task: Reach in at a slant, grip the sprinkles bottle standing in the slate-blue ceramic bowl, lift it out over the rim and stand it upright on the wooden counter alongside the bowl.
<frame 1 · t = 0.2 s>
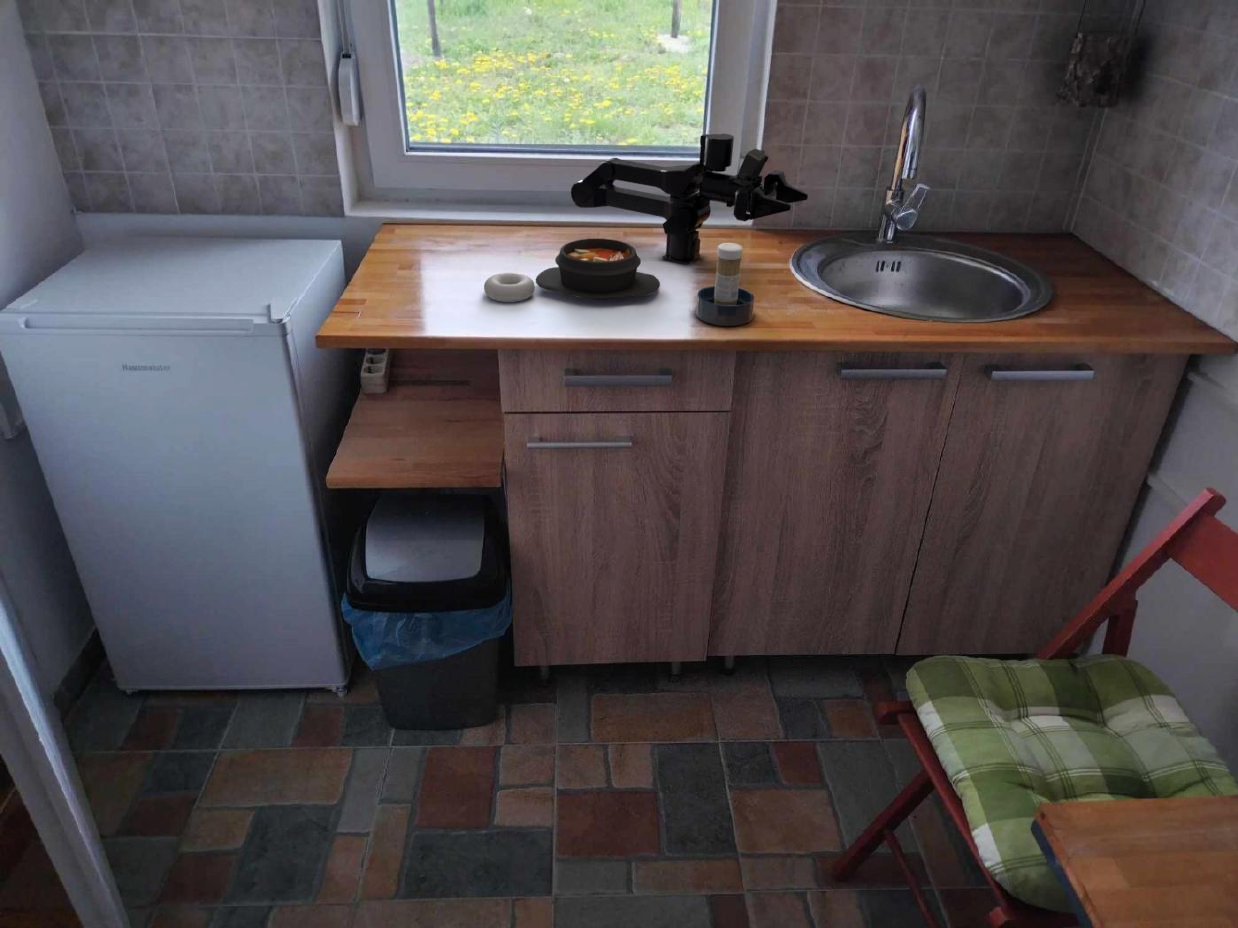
hand: (799, 202, 183), 17 cm above the counter, tool horizontal, fingers open, 9 cm apart
sprinkles bottle: (724, 315, 174), resting on bowl
donut: (509, 296, 181), on the counter
bowl: (724, 316, 175), on the counter
casserole: (597, 291, 185), on the counter
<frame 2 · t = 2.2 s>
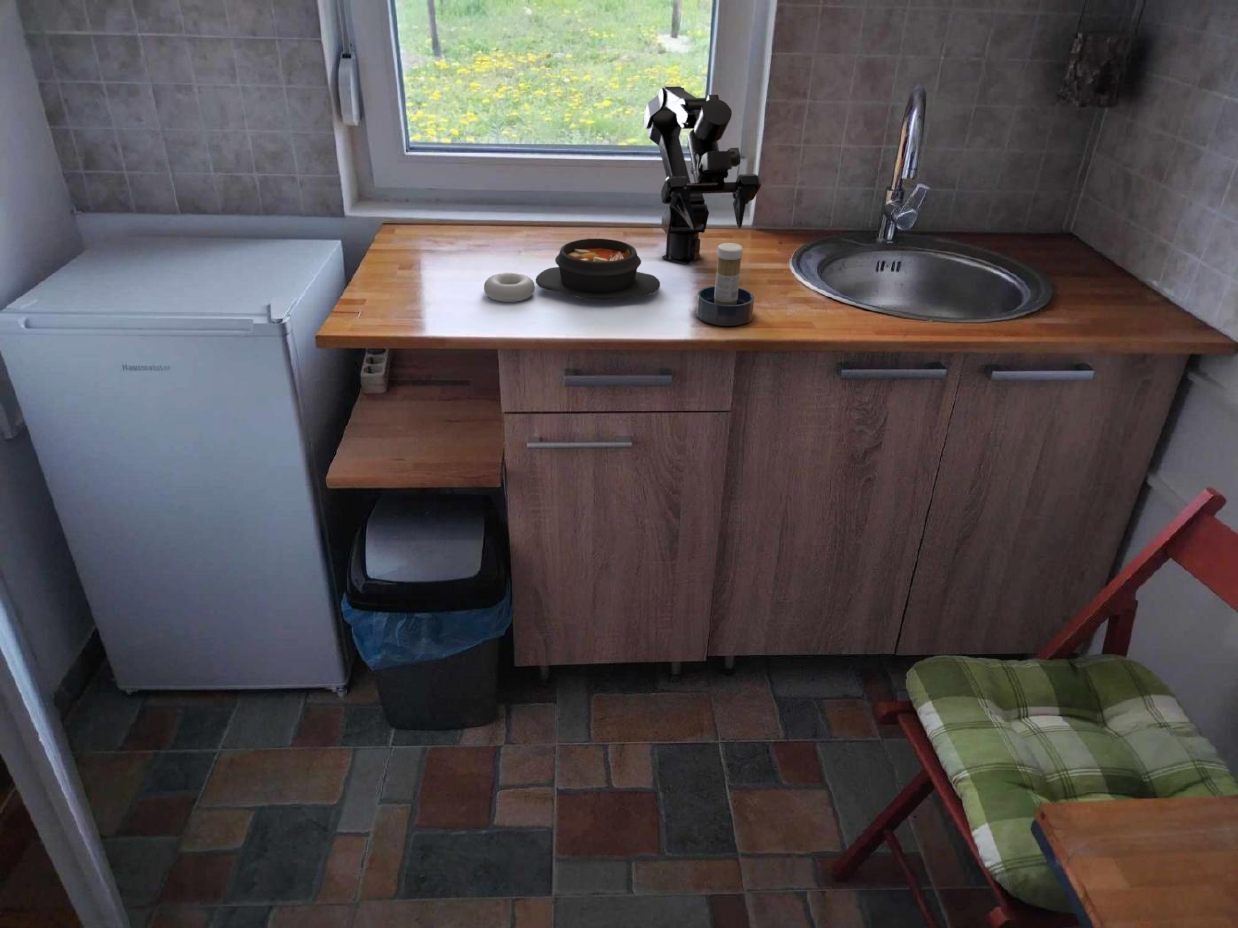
hand: (717, 228, 176), 14 cm above the counter, tool tilted 45°, fingers open, 9 cm apart
nothing on the counter moved.
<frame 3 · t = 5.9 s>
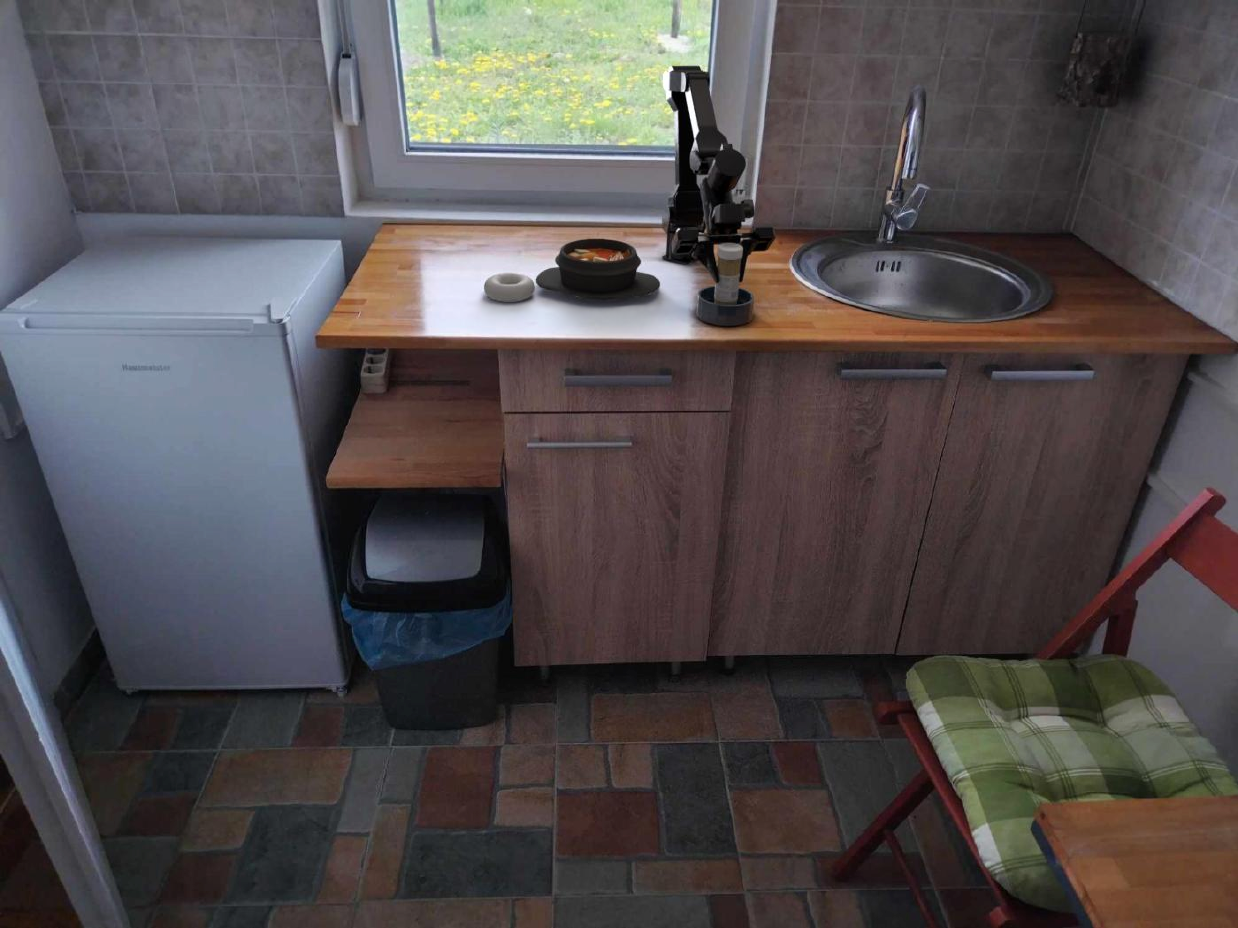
hand: (729, 282, 170), 7 cm above the counter, tool tilted 45°, fingers closed on sprinkles bottle, 4 cm apart
sprinkles bottle: (724, 315, 174), resting on bowl, touching gripper
everything else where it was.
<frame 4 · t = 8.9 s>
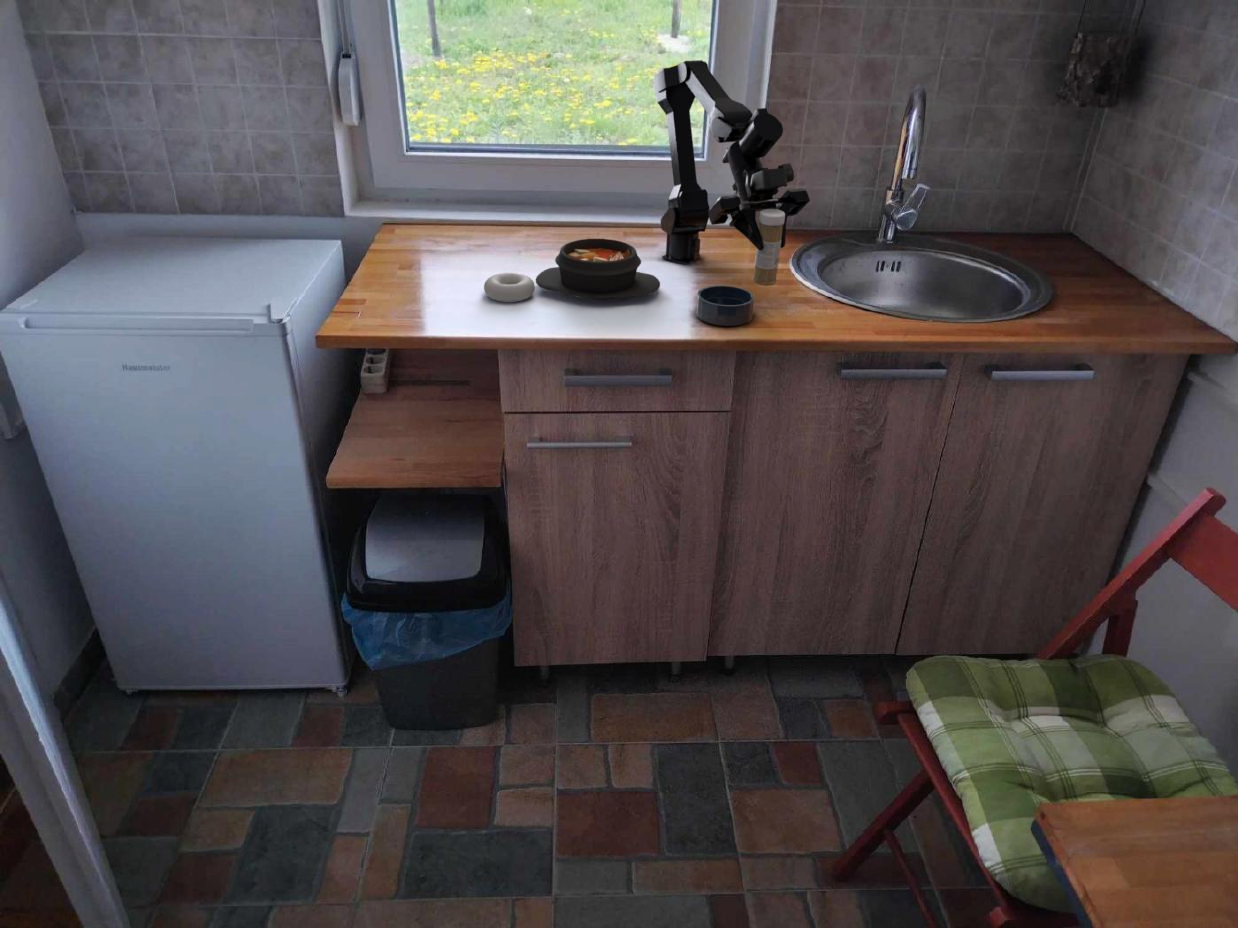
hand: (772, 248, 168), 13 cm above the counter, tool tilted 45°, fingers closed on sprinkles bottle, 4 cm apart
sprinkles bottle: (764, 283, 173), point 6 cm above the counter, touching gripper
everything else where it was.
when the fingers open (7 cm above the counter, at t = 12.0 s): sprinkles bottle stays where it is, on the counter.
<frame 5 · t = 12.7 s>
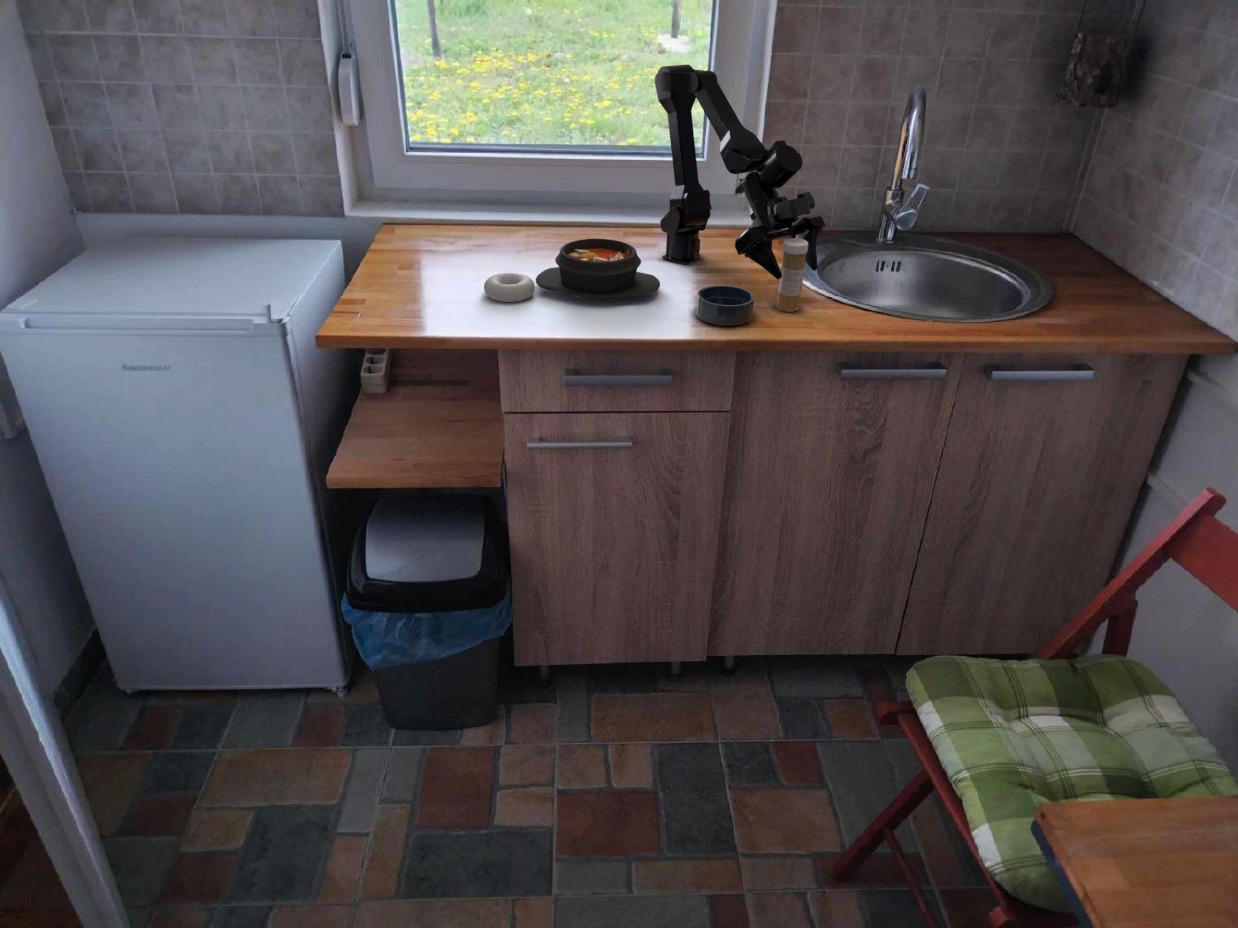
hand: (798, 274, 174), 7 cm above the counter, tool tilted 45°, fingers open, 9 cm apart
sprinkles bottle: (787, 309, 179), on the counter
everything else where it was.
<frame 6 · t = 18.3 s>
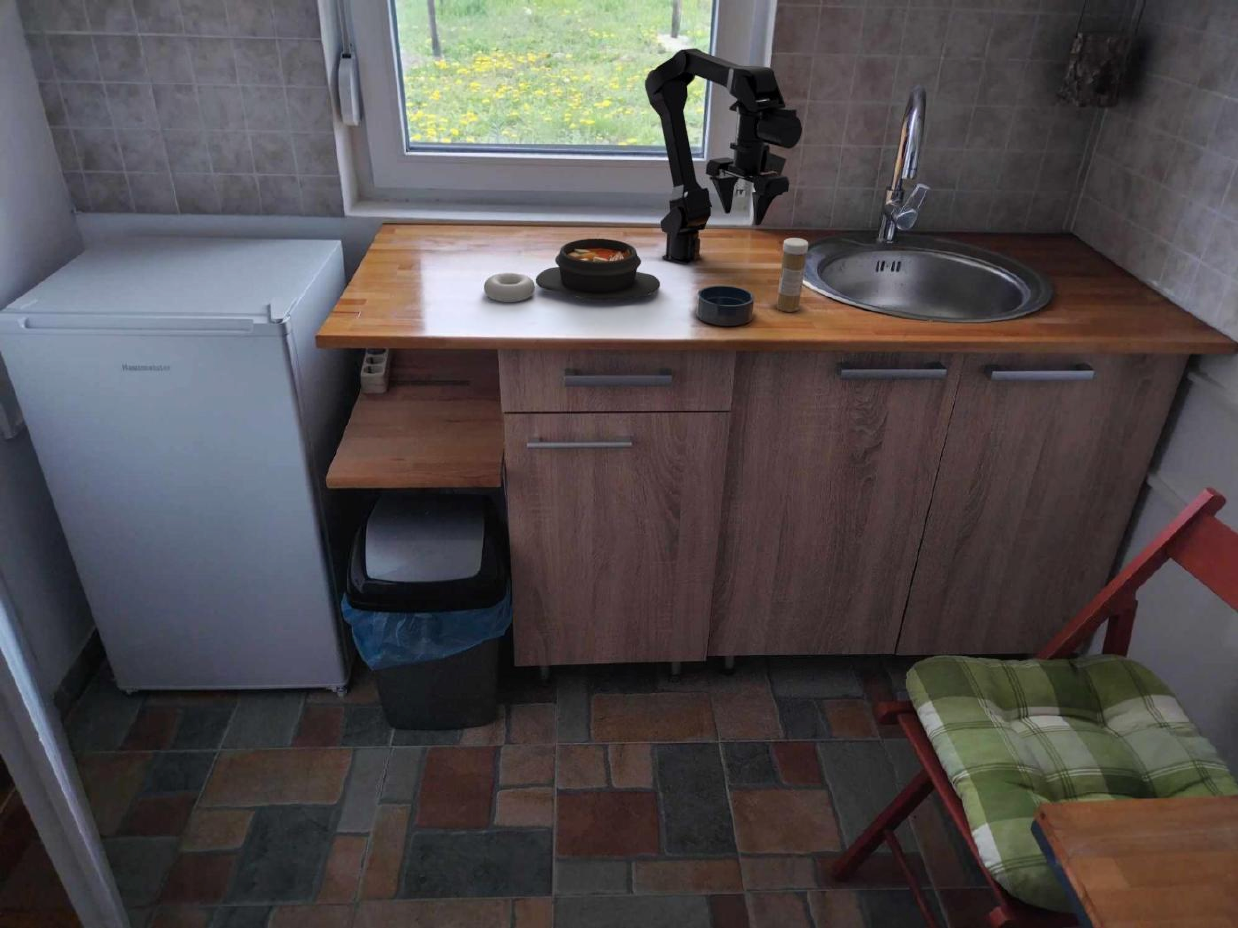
hand: (742, 219, 184), 13 cm above the counter, tool pointing down, fingers open, 9 cm apart
nothing on the counter moved.
at the end: sprinkles bottle inside the target area (0.4 cm from its centre), on the counter; sprinkles bottle tilted 0°; sprinkles bottle touching counter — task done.
